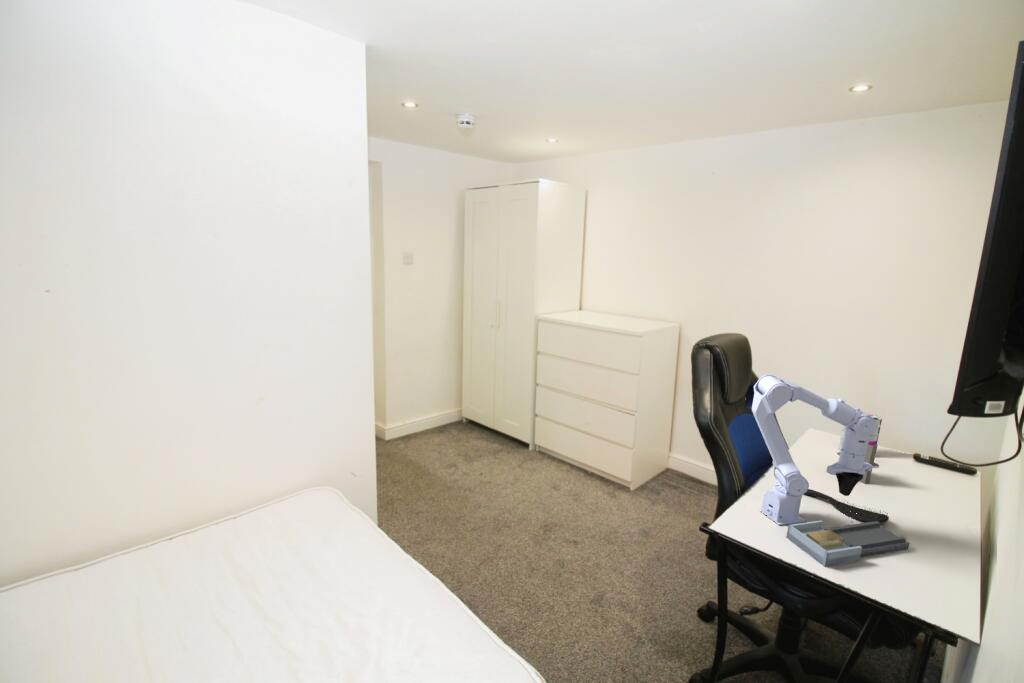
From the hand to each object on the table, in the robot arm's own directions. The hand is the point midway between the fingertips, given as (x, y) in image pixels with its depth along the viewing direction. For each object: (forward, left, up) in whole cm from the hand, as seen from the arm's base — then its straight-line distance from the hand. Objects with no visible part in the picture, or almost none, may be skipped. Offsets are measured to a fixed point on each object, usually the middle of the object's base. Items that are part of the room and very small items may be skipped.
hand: (844, 494), depth 134 cm
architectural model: (+33, +22, -10) cm, 41 cm away
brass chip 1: (-18, -9, -8) cm, 21 cm away
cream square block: (-14, -9, -7) cm, 18 cm away
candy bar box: (+54, +38, -10) cm, 67 cm away
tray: (-16, -9, -9) cm, 21 cm away
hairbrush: (+8, +7, -10) cm, 15 cm away
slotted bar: (-1, -9, -9) cm, 13 cm away
